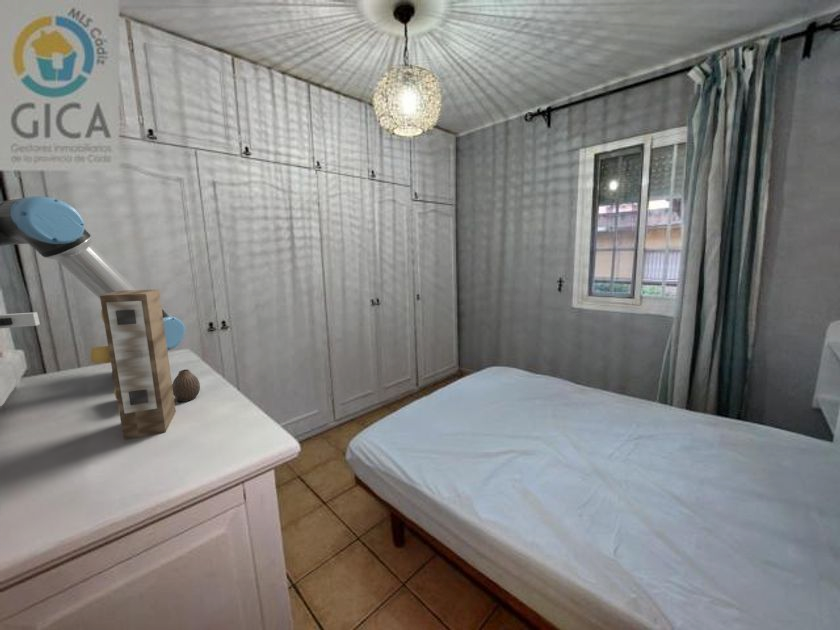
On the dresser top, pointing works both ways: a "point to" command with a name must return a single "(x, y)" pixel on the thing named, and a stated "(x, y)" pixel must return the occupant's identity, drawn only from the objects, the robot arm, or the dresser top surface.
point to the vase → (185, 386)
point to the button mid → (100, 355)
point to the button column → (139, 361)
